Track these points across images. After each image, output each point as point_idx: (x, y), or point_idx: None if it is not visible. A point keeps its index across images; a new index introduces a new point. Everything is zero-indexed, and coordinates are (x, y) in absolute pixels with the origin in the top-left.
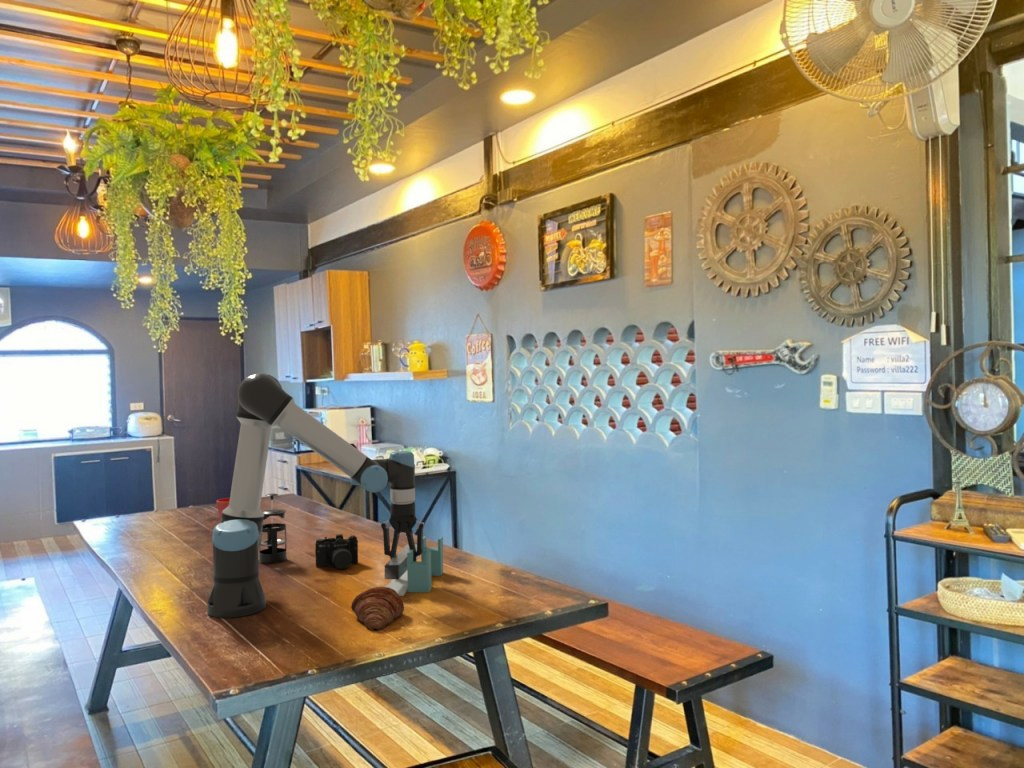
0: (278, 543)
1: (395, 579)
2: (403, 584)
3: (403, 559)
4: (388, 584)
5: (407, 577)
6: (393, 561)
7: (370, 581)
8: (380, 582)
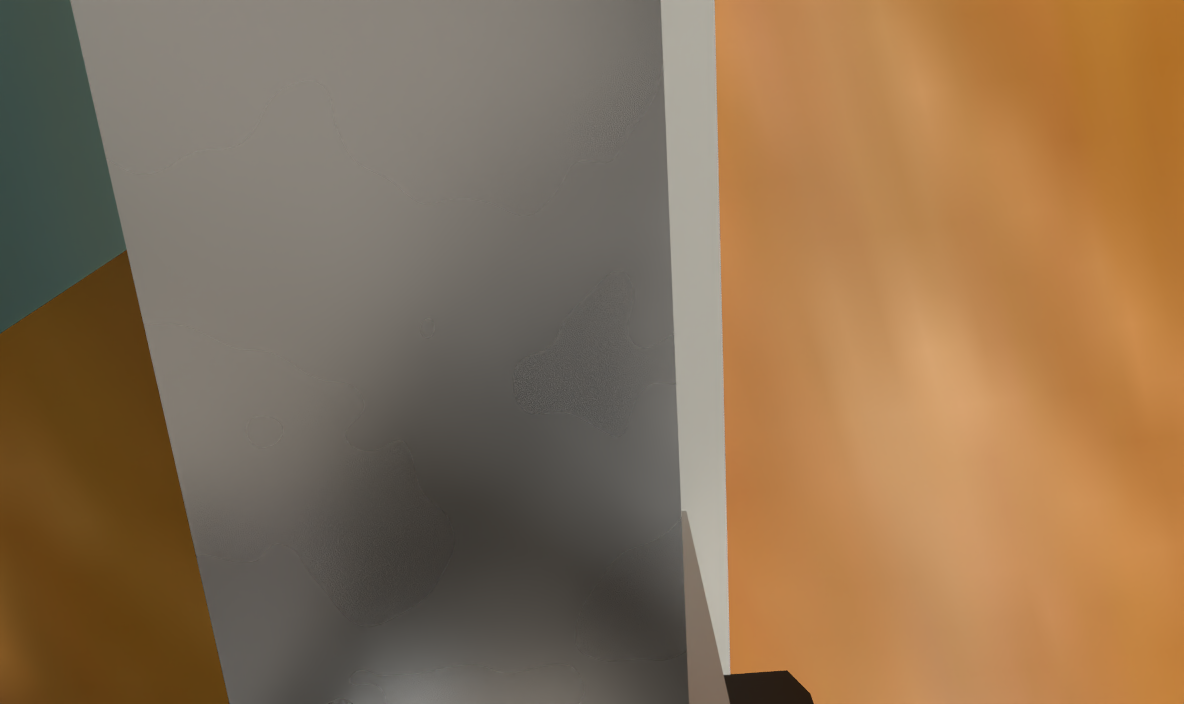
0: None
1: None
2: None
3: (194, 401)
4: (705, 239)
5: None
6: (462, 37)
7: (1112, 485)
8: (920, 454)
